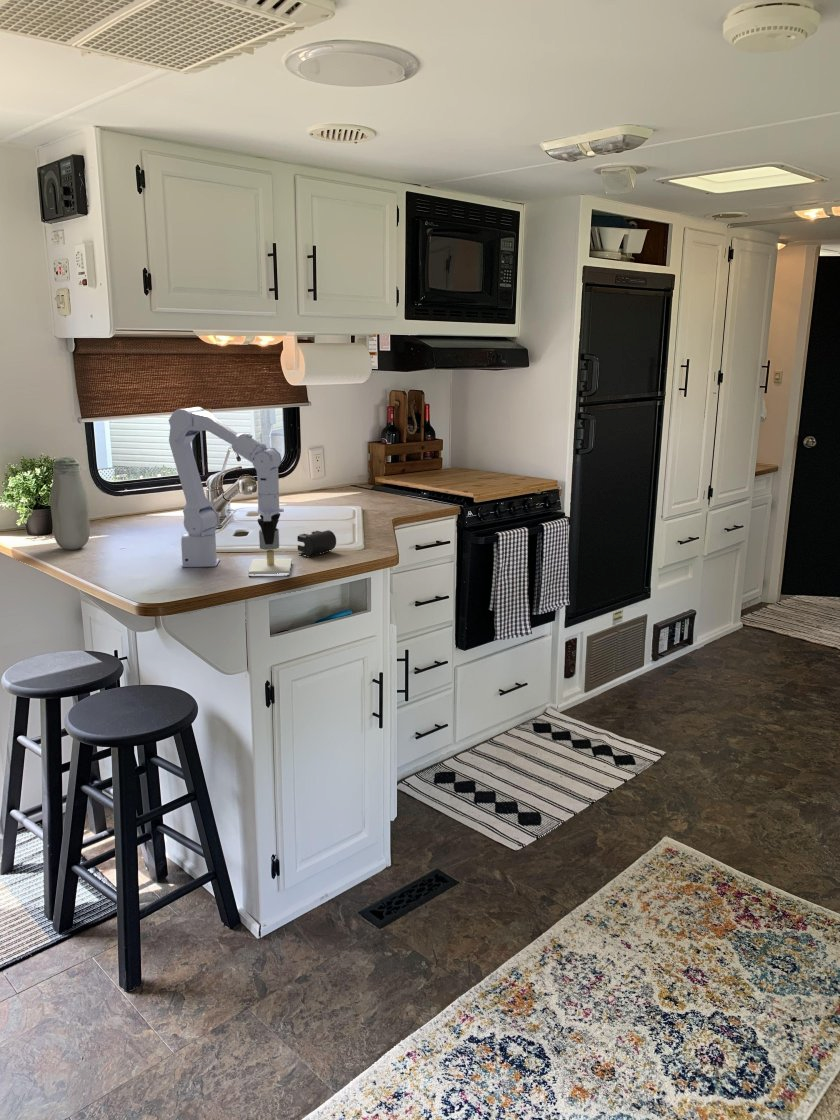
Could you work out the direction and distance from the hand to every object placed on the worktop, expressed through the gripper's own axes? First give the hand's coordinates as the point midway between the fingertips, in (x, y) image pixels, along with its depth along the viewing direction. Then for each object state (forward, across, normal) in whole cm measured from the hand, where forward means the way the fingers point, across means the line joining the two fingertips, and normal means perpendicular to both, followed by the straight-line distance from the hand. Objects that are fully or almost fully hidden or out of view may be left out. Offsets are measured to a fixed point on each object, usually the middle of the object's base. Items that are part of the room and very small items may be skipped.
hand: (270, 541), depth 235 cm
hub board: (+8, 0, 0) cm, 8 cm away
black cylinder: (+8, +18, -12) cm, 23 cm away
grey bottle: (+8, +29, +62) cm, 68 cm away
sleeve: (+2, 0, 0) cm, 2 cm away
